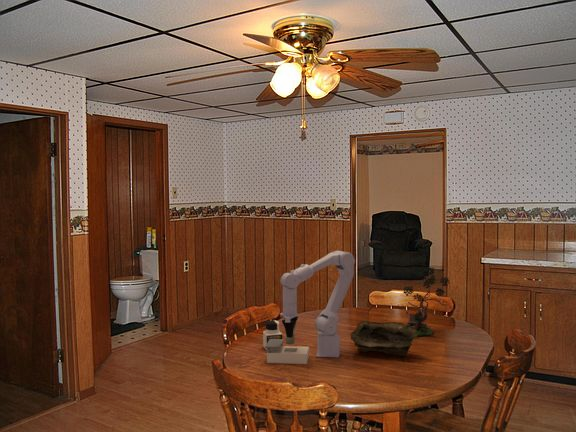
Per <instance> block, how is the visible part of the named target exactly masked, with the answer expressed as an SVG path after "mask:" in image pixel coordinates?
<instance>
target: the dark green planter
mask: <svg viewBox="0 0 576 432" xmlns="http://www.w3.org/2000/svg"><path fill="white" fill-rule="evenodd" d="M418 337H419V336H418V335H417V330H416V329H415V328H412V327H410V326H406V324H404V323H403V322H401V323H400V322H395V321H392V322H390V321H389V322H377V321H376V322H375V321H374V322H370V321H368V320H363V321H361V322H359V323H358V324H357V326H356V328H355V330H354V331H352V332H351V333H350V339H351V340H352V341H353V343H354V346H355V347H356V348H357V349H358V350H360V351H361V353H362V354H366V353H367V352H371V351H374V352H383V353H384V354H386V355H395V356H399V357H406V358H407V355H408V352H409V350H410V349H411V347H412V346H413V344H412V343H413V341H414V340H415V339H419V338H418Z"/></svg>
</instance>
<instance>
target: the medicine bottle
mask: <svg viewBox="0 0 576 432" xmlns="http://www.w3.org/2000/svg"><path fill="white" fill-rule="evenodd" d="M270 339H283V333H282V332H281V331H280V322H279V321H278V320H275V319H273V320H272V319H271V320H267V321H266V322H265V330H263V331H262V344H263V345H262V346H263V348H264V349H265V351H266V352H268V348H265V346H266V344H267V343H268V341H269V340H270ZM281 346H284V345H283V344H282V345H281Z"/></svg>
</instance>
